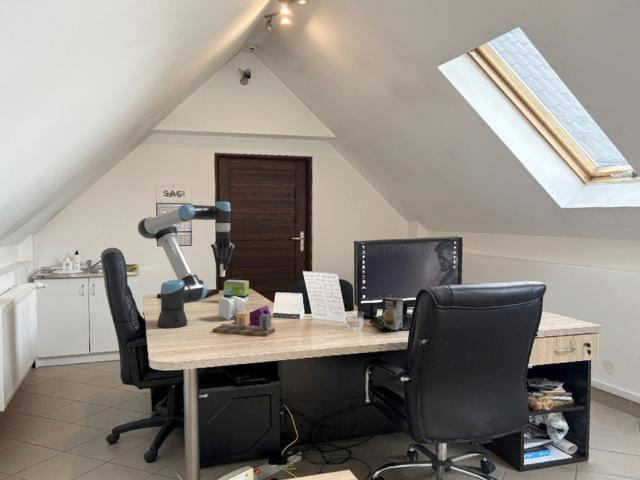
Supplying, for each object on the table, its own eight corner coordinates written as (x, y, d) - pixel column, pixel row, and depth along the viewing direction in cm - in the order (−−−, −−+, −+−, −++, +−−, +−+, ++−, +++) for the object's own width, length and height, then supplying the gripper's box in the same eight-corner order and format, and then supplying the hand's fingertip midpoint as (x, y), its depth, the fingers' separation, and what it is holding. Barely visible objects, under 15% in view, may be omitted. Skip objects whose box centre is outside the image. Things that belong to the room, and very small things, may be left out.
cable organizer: (217, 316, 282) (217, 296, 281) (234, 314, 288) (234, 295, 287) (228, 321, 269) (228, 300, 269) (245, 319, 276) (246, 298, 275)
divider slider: (234, 328, 241) (234, 313, 241) (240, 325, 247) (240, 311, 247) (244, 329, 240) (244, 314, 239) (249, 326, 246) (249, 312, 245)
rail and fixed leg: (218, 328, 243) (218, 313, 243) (224, 325, 250) (224, 311, 249) (265, 331, 236) (266, 316, 236) (270, 329, 243) (270, 314, 242)
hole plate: (212, 332, 241) (212, 328, 241) (222, 327, 252) (222, 324, 252) (266, 336, 234) (266, 333, 234) (274, 331, 244) (275, 328, 244)
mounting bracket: (237, 336, 260) (265, 323, 254) (231, 321, 261) (259, 308, 255) (245, 332, 269) (273, 320, 263) (239, 317, 270) (267, 305, 264)
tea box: (223, 302, 331) (223, 281, 330) (228, 300, 341) (228, 279, 340) (244, 303, 328) (244, 281, 328) (249, 301, 338) (249, 280, 338)
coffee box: (381, 328, 254) (381, 298, 254) (388, 326, 259) (388, 296, 258) (395, 331, 248) (396, 300, 248) (402, 329, 253) (403, 298, 252)
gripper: (208, 231, 251) (207, 276, 252) (231, 231, 248) (230, 277, 249) (215, 231, 259) (214, 275, 259) (237, 231, 255) (237, 276, 256)
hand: (222, 276), depth 254 cm, fingers closed
